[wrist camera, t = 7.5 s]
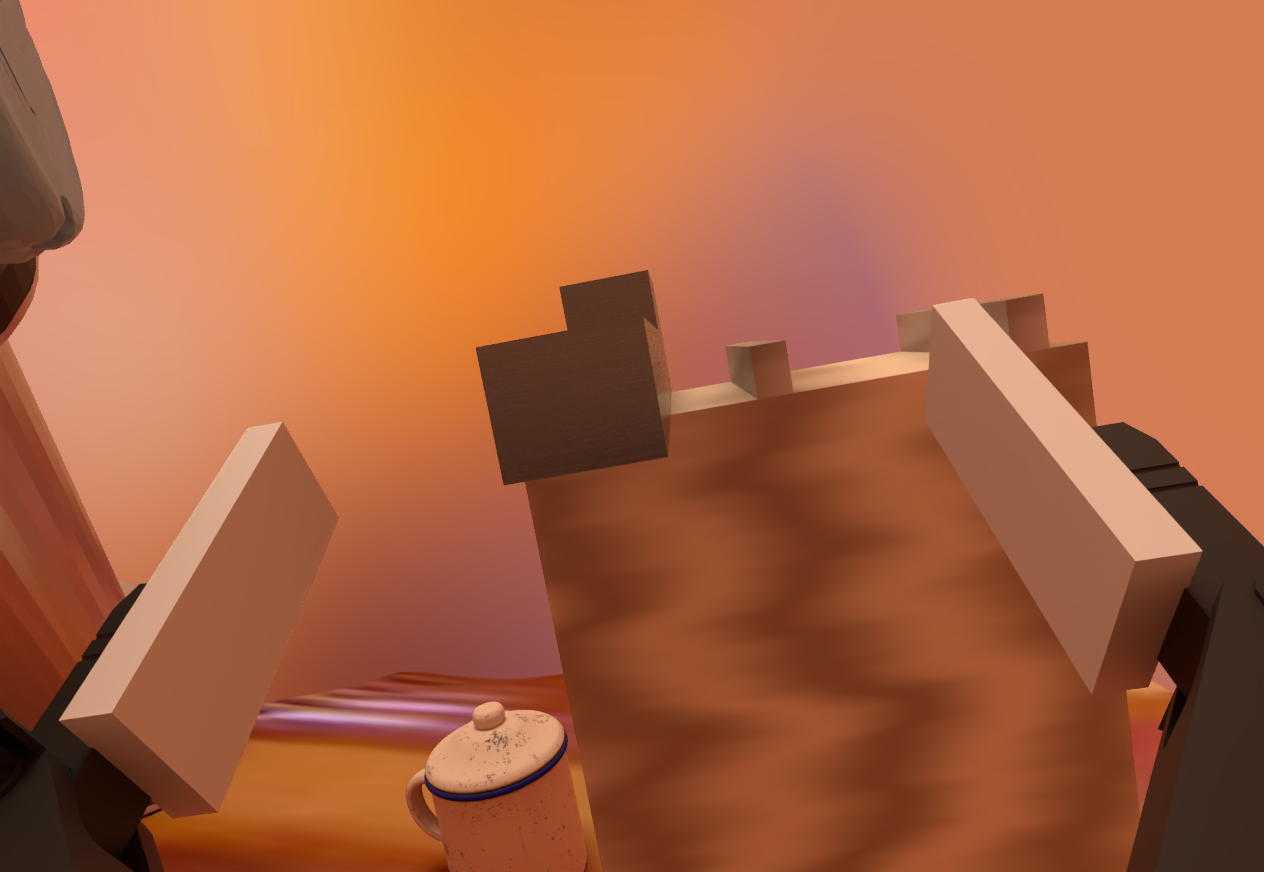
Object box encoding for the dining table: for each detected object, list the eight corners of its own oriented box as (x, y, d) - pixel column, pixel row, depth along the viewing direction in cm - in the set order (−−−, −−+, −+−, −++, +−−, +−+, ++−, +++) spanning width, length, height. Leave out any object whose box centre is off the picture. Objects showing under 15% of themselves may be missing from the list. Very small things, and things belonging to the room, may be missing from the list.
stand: (692, 1319, 25) (506, 390, 21) (687, 1039, 35) (560, 375, 31) (1191, 1279, 23) (1081, 286, 20) (1037, 1001, 33) (945, 305, 30)
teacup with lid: (611, 832, 51) (579, 672, 49) (557, 938, 42) (518, 748, 41) (460, 825, 55) (428, 676, 53) (384, 920, 46) (343, 747, 45)
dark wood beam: (482, 489, 13) (429, 237, 13) (592, 406, 31) (572, 299, 31) (667, 457, 13) (622, 199, 13) (671, 392, 31) (652, 284, 30)
